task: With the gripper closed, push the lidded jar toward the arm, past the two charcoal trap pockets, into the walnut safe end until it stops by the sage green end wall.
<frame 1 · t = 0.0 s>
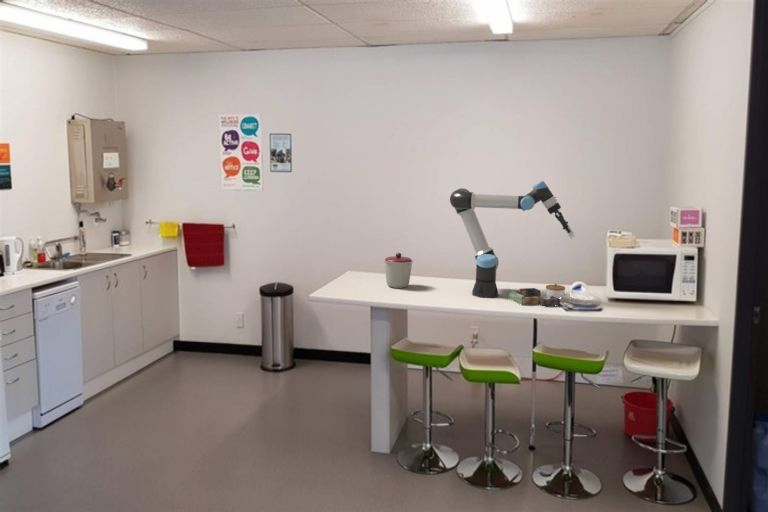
hand: (572, 235, 392), 36 cm above the worktop, tool tilted 35°, fingers open, 13 cm apart
lidded jar: (554, 300, 387), on the worktop
canister: (397, 286, 414), on the worktop
trap box: (531, 300, 382), on the worktop
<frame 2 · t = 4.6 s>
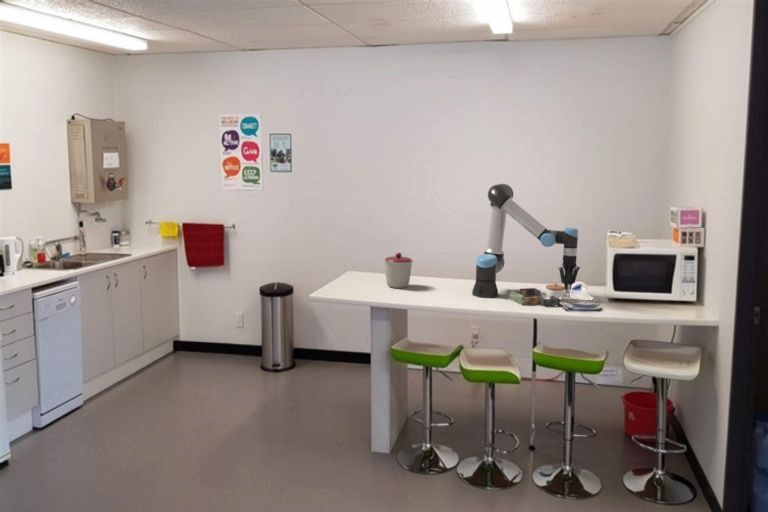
hand: (567, 295, 388), 2 cm above the worktop, tool pointing down, fingers closed
lidded jar: (554, 300, 387), on the worktop, touching gripper
everything else where it was.
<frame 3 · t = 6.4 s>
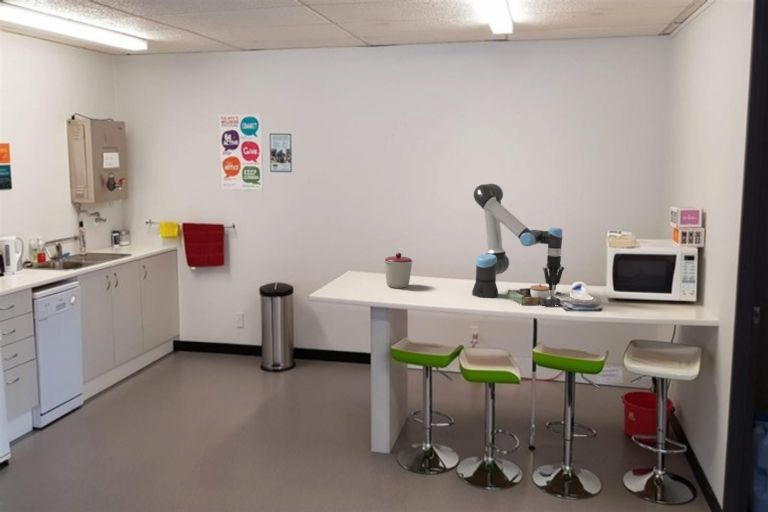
hand: (551, 295, 386), 2 cm above the worktop, tool pointing down, fingers closed
lidded jar: (539, 300, 384), on the worktop, touching gripper
everything else where it was.
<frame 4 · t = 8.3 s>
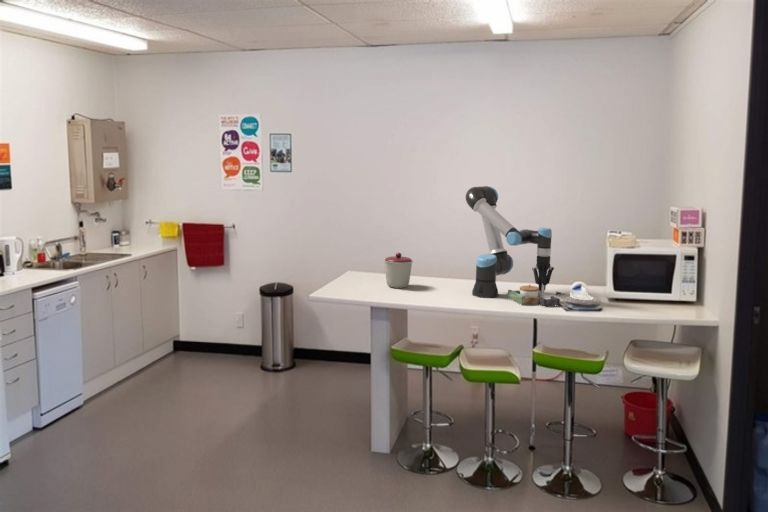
hand: (541, 296, 384), 3 cm above the worktop, tool pointing down, fingers closed
lidded jar: (528, 301, 382), on the worktop, touching gripper
everything else where it was.
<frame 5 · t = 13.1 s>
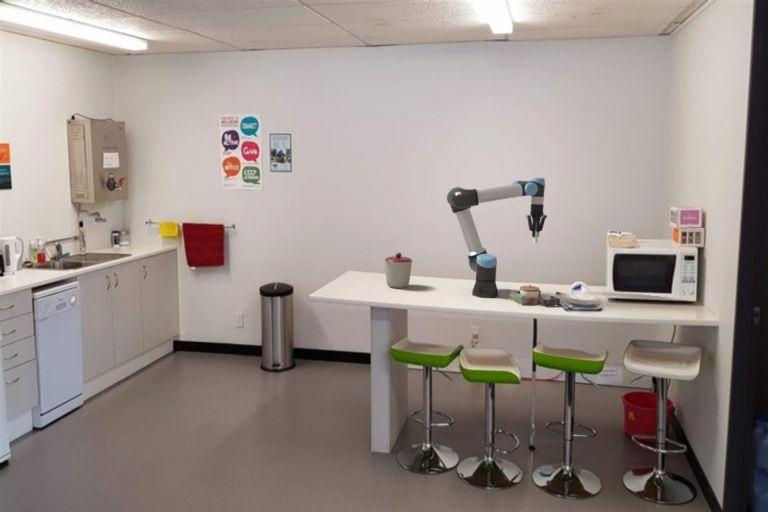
hand: (535, 242, 407), 29 cm above the worktop, tool pointing down, fingers closed
lidded jar: (528, 301, 382), on the worktop
everything else where it was.
at the end: lidded jar inside the target area (0.8 cm from its centre), on the worktop; lidded jar tilted 0° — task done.
